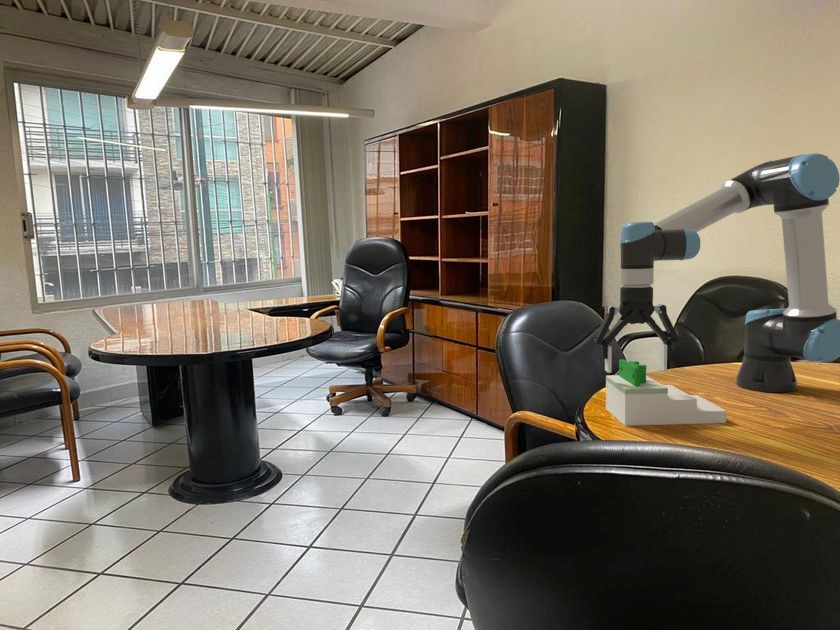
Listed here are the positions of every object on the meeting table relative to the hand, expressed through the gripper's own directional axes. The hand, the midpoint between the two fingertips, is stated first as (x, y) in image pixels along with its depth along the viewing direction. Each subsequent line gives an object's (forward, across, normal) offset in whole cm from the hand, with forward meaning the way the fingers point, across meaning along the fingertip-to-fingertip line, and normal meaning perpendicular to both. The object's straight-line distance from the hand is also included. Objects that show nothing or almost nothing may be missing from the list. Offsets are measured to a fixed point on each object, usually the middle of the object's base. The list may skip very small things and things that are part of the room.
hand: (635, 370), depth 135 cm
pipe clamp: (+3, 0, 0) cm, 3 cm away
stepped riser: (+12, -7, 0) cm, 14 cm away
